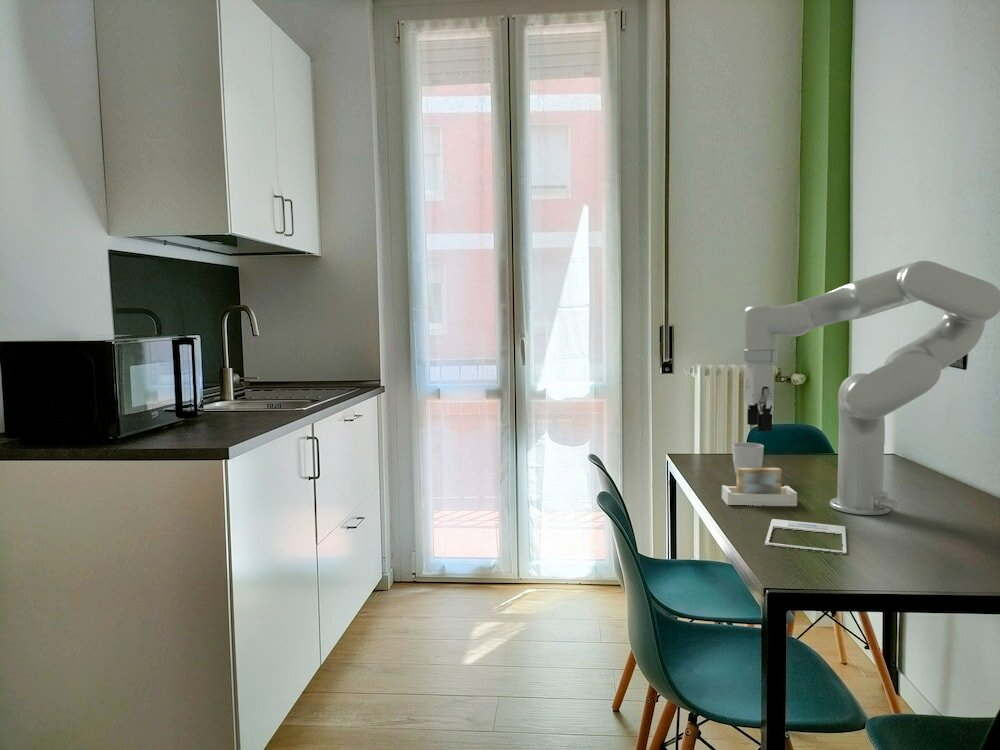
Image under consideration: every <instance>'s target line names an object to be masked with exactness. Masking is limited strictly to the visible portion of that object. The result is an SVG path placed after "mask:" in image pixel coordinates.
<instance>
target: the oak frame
mask: <svg viewBox="0 0 1000 750" xmlns="http://www.w3.org/2000/svg"><path fill="white" fill-rule="evenodd" d="M735 477H736V480H735V481H736V482H735V483H736V485H735V486H736V494H781V487H782V469H781V468H779V467H761V468H736V473H735Z"/></svg>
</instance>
